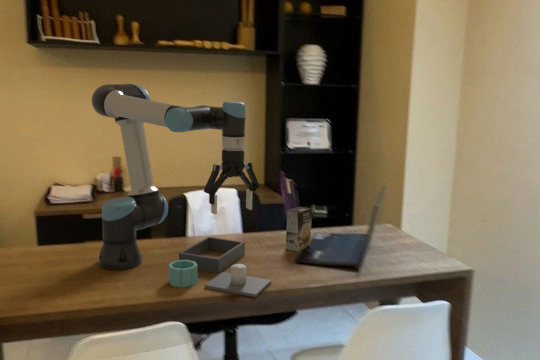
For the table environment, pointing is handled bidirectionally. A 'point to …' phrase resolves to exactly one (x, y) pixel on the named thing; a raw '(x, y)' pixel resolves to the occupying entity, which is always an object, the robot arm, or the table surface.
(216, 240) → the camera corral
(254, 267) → the table surface
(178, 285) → the collar
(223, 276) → the stand
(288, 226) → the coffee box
